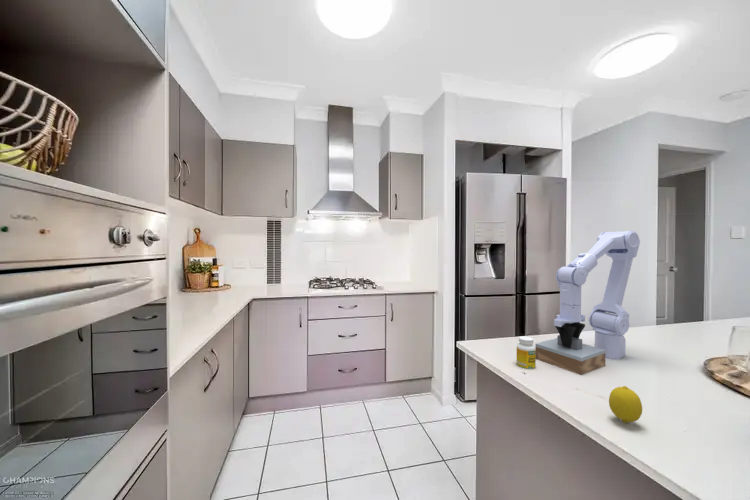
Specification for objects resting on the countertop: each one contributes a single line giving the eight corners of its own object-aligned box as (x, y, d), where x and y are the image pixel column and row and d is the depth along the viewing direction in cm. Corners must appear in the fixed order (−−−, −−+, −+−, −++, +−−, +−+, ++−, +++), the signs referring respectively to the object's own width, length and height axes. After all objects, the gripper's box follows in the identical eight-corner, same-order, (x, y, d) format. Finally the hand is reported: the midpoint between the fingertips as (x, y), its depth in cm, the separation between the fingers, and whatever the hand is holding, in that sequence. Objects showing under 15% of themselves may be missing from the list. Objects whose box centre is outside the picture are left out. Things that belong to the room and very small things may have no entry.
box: (559, 354, 104) (559, 340, 104) (605, 368, 92) (605, 353, 92) (535, 361, 98) (535, 346, 97) (581, 378, 85) (581, 361, 85)
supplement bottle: (522, 363, 96) (522, 334, 95) (538, 369, 91) (539, 339, 91) (512, 367, 93) (513, 337, 93) (529, 373, 88) (530, 342, 88)
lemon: (602, 415, 67) (602, 381, 66) (624, 414, 67) (625, 380, 67) (624, 431, 61) (625, 393, 61) (649, 430, 62) (650, 392, 61)
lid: (559, 344, 104) (559, 329, 104) (605, 357, 92) (605, 340, 92) (535, 351, 97) (535, 334, 97) (581, 366, 85) (581, 347, 85)
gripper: (569, 299, 101) (568, 338, 102) (544, 303, 94) (543, 345, 95) (592, 303, 95) (591, 344, 95) (567, 307, 88) (566, 352, 88)
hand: (569, 345), depth 95 cm, fingers closed on lid, 3 cm apart
